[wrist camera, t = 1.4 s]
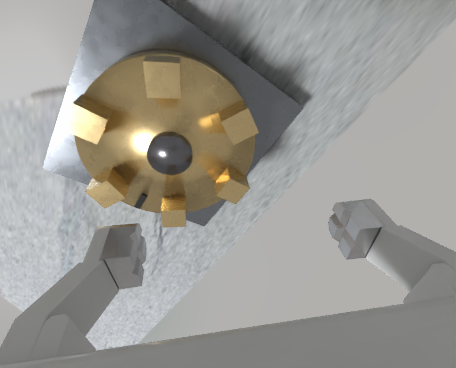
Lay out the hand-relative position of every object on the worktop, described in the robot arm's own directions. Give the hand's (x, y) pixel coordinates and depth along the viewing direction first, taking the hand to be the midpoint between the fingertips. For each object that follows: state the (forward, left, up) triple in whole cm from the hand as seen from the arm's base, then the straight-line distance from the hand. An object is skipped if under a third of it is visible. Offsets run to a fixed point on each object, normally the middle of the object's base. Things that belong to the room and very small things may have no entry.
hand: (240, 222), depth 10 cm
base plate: (+8, 0, -24) cm, 25 cm away
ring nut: (+8, 0, -22) cm, 23 cm away
